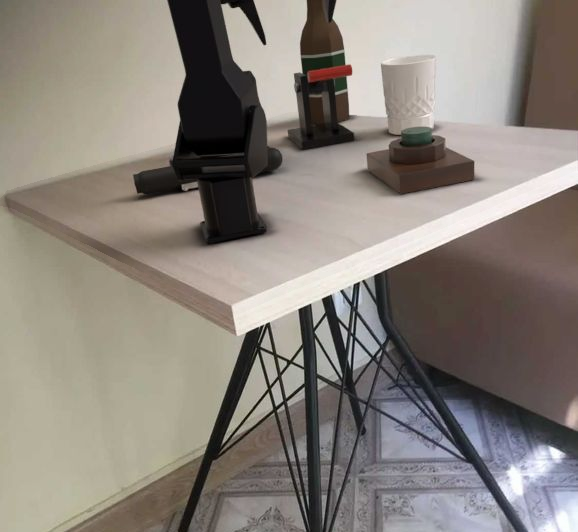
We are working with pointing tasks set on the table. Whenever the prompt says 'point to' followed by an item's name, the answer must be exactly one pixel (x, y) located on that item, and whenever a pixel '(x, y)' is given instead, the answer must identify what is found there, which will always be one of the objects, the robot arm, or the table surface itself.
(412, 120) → the white cup
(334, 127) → the bracket
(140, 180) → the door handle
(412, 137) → the button
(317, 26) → the beer bottle
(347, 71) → the lever
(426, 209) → the table surface
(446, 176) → the button block
